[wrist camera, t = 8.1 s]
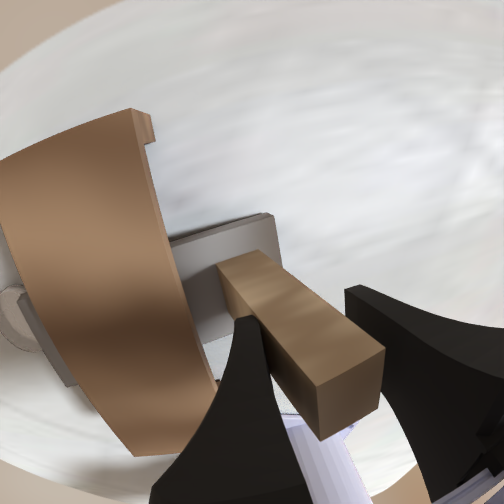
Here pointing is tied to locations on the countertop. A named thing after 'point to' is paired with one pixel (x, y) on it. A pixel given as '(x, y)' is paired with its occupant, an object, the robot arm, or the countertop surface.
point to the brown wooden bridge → (108, 278)
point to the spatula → (268, 323)
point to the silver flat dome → (16, 320)
